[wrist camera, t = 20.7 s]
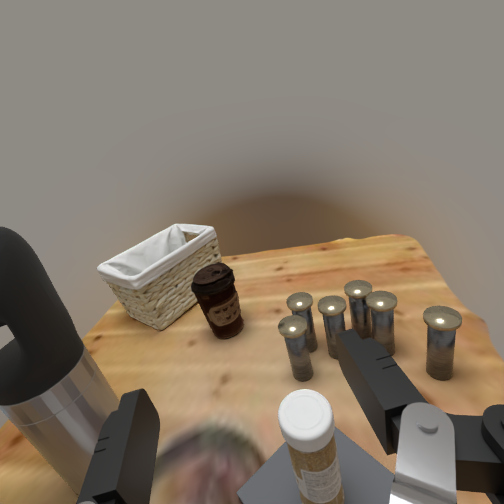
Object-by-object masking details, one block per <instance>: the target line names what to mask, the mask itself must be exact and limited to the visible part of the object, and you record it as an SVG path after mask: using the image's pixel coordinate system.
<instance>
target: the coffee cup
mask: <svg viewBox="0 0 504 504" xmlns="http://www.w3.org/2000/svg"><path fill="white" fill-rule="evenodd" d="M234 281H235V278H234V275H233V270H232V269H230V268H229V267H228V266H227V265H226V264H224V263H215V264H211V265H208V266H205V267H204V268H201V269H200V270H199V271H198V272H197V273H196V274H195V275H194V277H193V282H192V283H191V291H192V292H193V293H194V294H195V297H196V298H197V301H198V303H199V304H200V307H201V309H202V311H203V313H204V315H205V317H206V319H207V321H208V323H209V325H210V327H211V329H212V331H213V333H214V335H215V336H216V337H217V338H229V337H232V336H234V335H236V334H237V333H238V332H240V330H241V329H242V327H243V325H244V323H243V321H244V320H243V319H242V318H241V314H240V313H241V309H240V305H239V297H238V293H237V291H236V290H235V286H234Z"/></svg>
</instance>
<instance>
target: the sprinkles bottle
mask: <svg viewBox="0 0 504 504" xmlns="http://www.w3.org/2000/svg"><path fill="white" fill-rule="evenodd" d="M278 420H279V425H280V428H281V432H282V435H283V437H284V439H285V441H286V442H287V446H288V450H289V454H290V459H291V463H292V467H293V471H294V474H295V478H296V482H297V485H298V488H299V490H300V498H301V501H302V504H344V499H345V495H344V489H343V486H342V484H341V472H340V465H339V459H338V452H337V445H336V441H335V438H334V429H335V424H334V417H333V412H332V408H331V406H330V404H329V402H328V401H327V399H326V398H325V397H324V396H323V395H321V394H320V393H318V392H316V391H313V390H309V389H301V390H296V391H294V392H292V393H290V394H288V395H287V396H286V397H285V398H284V399H283V401H282V402H281V404H280V407H279V410H278Z"/></svg>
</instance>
